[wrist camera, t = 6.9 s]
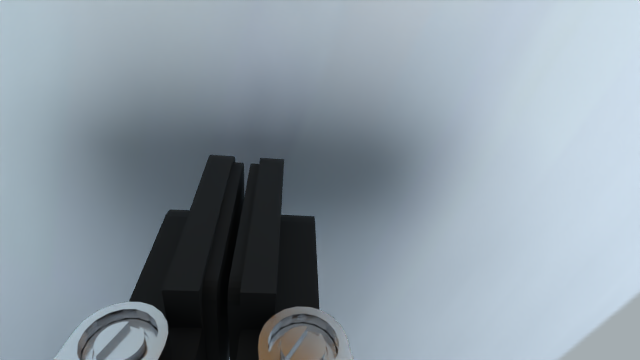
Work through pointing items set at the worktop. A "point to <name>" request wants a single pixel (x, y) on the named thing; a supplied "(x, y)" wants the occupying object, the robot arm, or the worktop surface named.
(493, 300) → the worktop surface
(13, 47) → the worktop surface
